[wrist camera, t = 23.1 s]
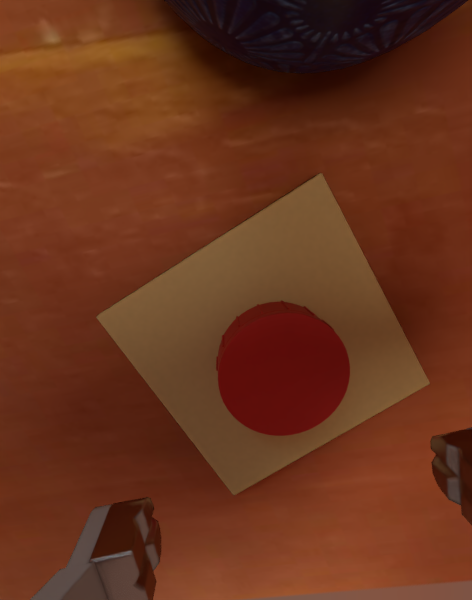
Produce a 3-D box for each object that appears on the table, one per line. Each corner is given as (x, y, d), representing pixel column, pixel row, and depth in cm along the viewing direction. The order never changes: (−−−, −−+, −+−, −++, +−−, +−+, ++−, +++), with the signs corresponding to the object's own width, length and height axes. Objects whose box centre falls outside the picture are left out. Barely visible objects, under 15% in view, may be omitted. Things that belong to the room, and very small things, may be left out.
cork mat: (422, 377, 20) (430, 383, 19) (232, 486, 20) (233, 496, 20) (316, 174, 17) (322, 171, 16) (100, 313, 17) (95, 317, 17)
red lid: (205, 398, 18) (203, 423, 16) (233, 288, 17) (236, 297, 14) (313, 420, 19) (327, 447, 16) (349, 316, 18) (369, 329, 15)
